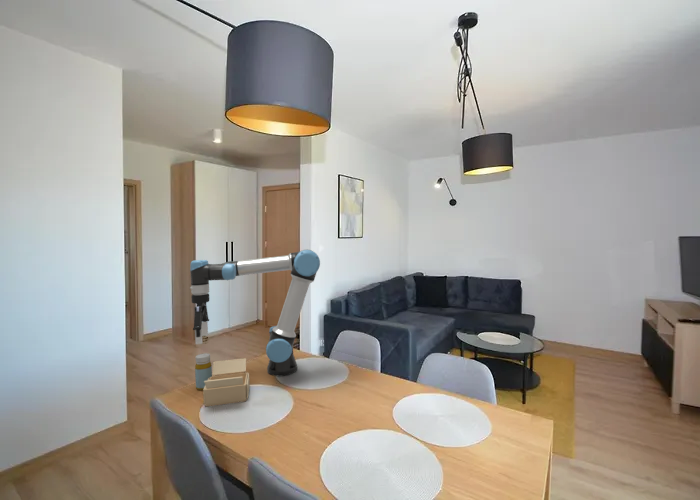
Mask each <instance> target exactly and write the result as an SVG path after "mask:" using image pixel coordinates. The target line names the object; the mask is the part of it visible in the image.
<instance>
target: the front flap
mask: <svg viewBox="0 0 700 500" xmlns="http://www.w3.org/2000/svg"><path fill="white" fill-rule="evenodd" d="M204 382H205V385H206V388H207V389H209V388H218V387H226V386H234V385H242V384H243V378H242V377H233V378H225V379H216V380H207V381H204Z"/></svg>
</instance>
